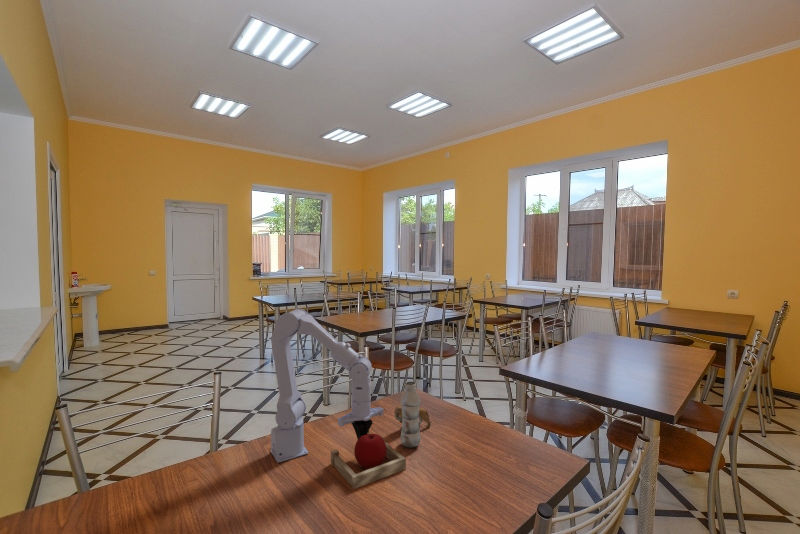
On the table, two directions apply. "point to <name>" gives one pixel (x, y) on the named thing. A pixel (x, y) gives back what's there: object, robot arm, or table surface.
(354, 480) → the corral
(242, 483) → the table surface
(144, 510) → the table surface
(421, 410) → the lion figurine
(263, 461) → the table surface
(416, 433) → the plastic bottle
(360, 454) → the apple
